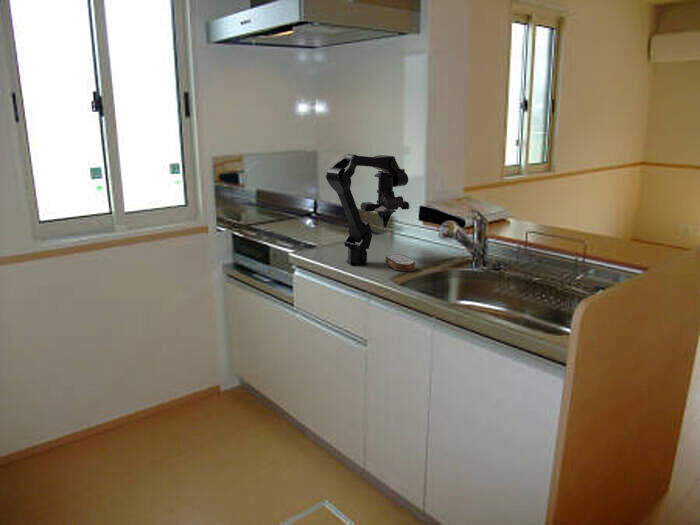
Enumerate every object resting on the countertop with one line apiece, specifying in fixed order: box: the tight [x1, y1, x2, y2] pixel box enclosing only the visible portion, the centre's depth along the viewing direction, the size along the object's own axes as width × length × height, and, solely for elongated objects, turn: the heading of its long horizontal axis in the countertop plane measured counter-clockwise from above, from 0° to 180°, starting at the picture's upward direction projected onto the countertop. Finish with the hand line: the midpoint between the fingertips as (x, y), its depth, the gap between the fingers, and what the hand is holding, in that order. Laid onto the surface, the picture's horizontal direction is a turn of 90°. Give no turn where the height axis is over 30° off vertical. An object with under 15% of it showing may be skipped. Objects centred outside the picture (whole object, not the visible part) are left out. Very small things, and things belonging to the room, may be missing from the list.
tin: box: [384, 254, 416, 272], centre depth 205 cm, size 15×3×8 cm
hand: (384, 227), depth 216 cm, fingers closed
